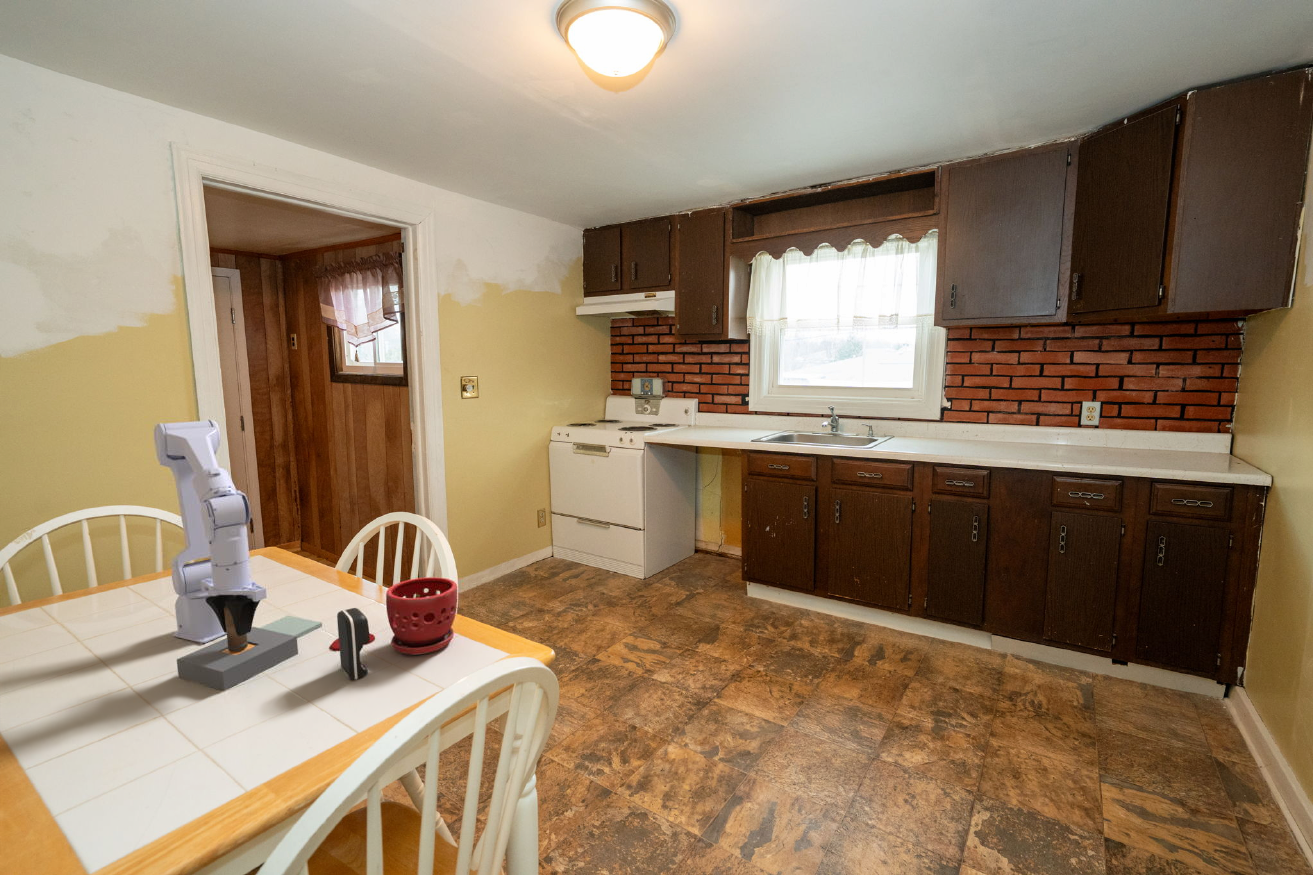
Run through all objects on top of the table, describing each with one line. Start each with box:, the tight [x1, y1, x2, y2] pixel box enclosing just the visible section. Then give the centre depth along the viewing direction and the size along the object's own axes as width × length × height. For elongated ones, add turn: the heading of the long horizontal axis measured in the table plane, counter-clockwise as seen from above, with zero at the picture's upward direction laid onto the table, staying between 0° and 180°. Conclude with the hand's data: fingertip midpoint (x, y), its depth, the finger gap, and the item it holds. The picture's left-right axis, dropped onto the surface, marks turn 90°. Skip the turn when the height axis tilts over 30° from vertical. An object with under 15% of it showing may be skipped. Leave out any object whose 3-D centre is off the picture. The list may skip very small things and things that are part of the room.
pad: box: [260, 615, 323, 639], centre depth 126 cm, size 10×9×1 cm
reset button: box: [222, 644, 255, 655], centre depth 112 cm, size 4×4×1 cm
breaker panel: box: [176, 626, 299, 692], centre depth 112 cm, size 12×14×4 cm
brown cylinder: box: [224, 606, 248, 651], centre depth 111 cm, size 3×3×8 cm
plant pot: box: [385, 576, 458, 656], centre depth 120 cm, size 13×13×12 cm
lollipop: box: [329, 632, 376, 652], centre depth 125 cm, size 8×1×15 cm
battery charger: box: [336, 607, 370, 681], centre depth 109 cm, size 7×4×11 cm, turn 42°
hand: (237, 631), depth 111 cm, fingers closed on brown cylinder, 3 cm apart
